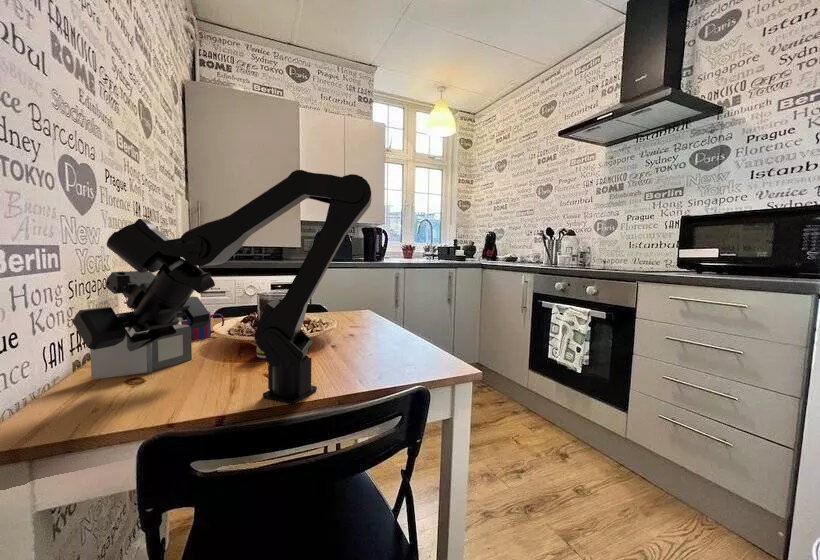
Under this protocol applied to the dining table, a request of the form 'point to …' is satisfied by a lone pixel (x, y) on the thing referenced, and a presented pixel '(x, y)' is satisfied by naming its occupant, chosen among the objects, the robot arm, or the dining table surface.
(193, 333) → the mug
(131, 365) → the side door
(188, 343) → the camera body
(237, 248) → the robot arm
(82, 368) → the dining table surface
